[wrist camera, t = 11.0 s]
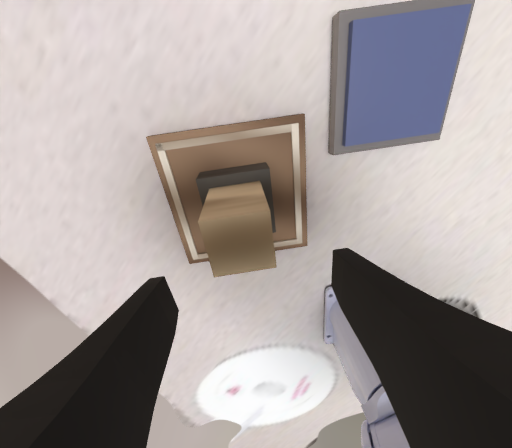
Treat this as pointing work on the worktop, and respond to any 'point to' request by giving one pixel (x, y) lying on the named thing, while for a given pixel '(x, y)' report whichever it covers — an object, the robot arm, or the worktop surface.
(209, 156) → the board
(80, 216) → the worktop surface
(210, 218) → the stamp
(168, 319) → the robot arm
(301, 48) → the worktop surface
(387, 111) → the ink pad
